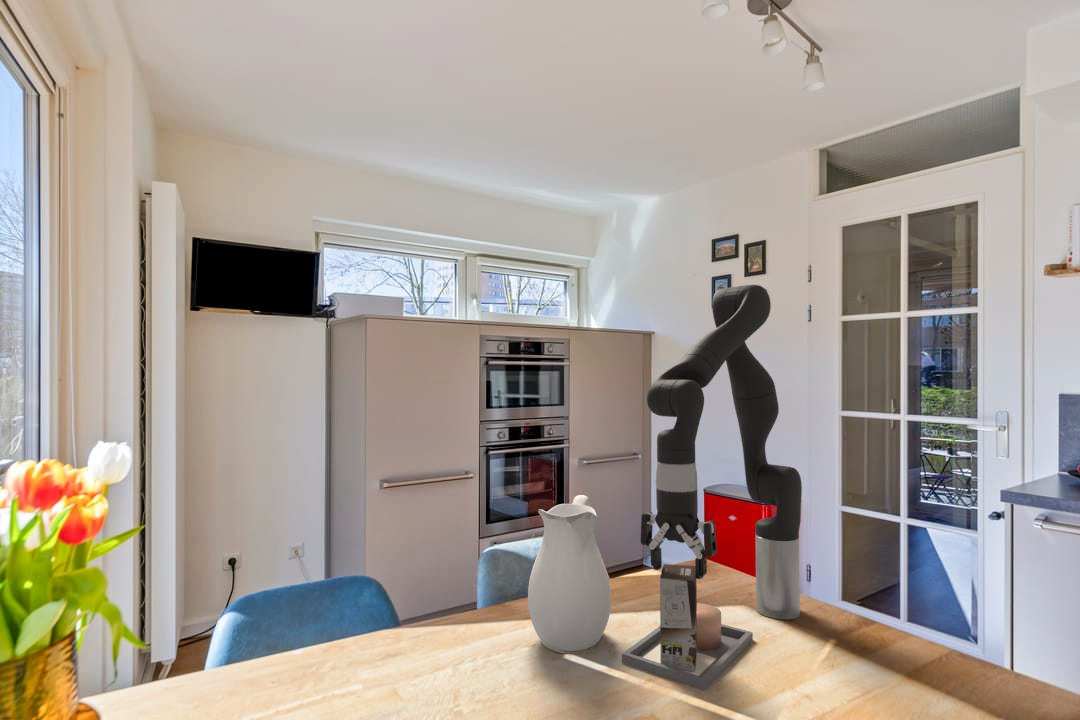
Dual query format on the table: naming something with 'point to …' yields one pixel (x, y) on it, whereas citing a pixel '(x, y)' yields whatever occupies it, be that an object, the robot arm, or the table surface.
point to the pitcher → (569, 580)
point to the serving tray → (707, 662)
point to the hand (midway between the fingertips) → (678, 573)
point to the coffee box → (678, 617)
